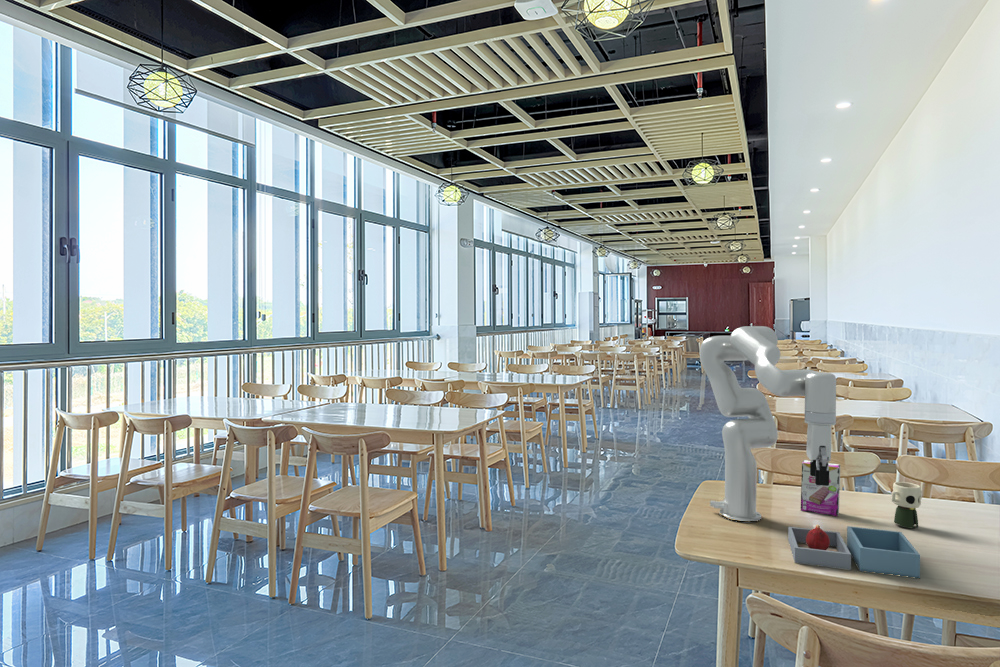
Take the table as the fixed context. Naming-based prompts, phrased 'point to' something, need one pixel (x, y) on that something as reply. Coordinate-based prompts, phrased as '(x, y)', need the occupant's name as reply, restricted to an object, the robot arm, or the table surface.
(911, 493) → the character mug
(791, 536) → the grey crate
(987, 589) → the table surface
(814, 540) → the onion
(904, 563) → the blue bin
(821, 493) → the candy bar box
